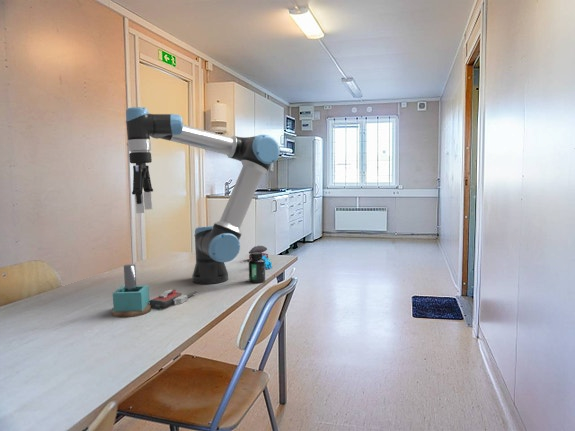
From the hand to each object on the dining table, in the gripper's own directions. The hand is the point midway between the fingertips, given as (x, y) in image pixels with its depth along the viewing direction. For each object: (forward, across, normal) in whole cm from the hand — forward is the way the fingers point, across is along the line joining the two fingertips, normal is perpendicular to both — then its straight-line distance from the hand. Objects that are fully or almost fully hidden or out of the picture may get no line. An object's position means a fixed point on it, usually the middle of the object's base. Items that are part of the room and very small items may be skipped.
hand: (144, 211), depth 161 cm
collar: (+30, +17, -3) cm, 35 cm away
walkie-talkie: (+33, +7, +9) cm, 35 cm away
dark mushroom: (+34, -62, +42) cm, 82 cm away
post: (+30, +17, -3) cm, 35 cm away
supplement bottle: (+34, -17, +40) cm, 55 cm away
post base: (+32, +17, -3) cm, 36 cm away
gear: (+34, -42, +44) cm, 70 cm away
